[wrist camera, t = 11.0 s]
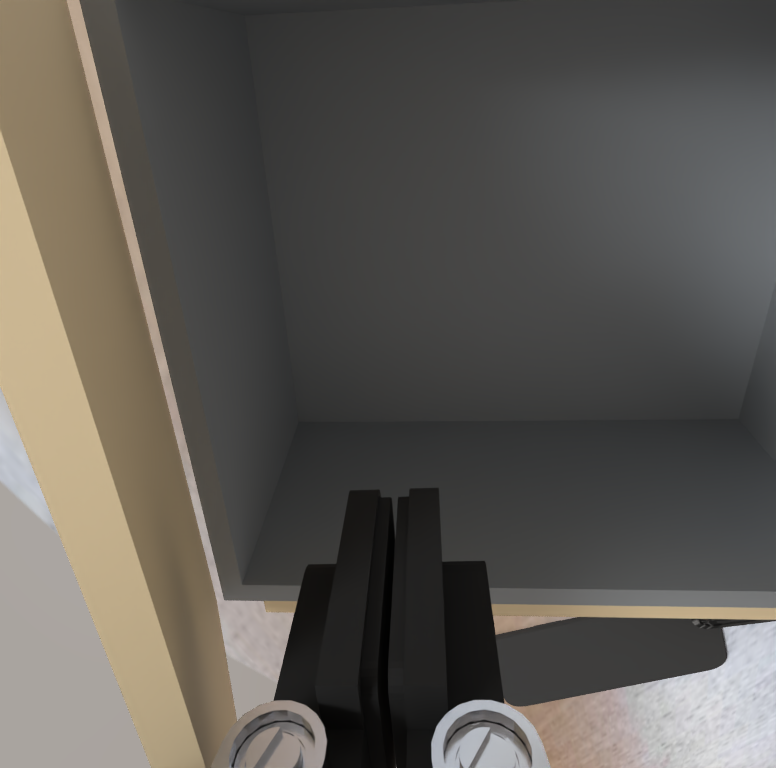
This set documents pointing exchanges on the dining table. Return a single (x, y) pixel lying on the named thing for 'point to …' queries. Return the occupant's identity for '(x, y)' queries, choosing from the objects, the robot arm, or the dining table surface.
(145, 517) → the carton flap
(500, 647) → the phone
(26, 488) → the dining table surface
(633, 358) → the carton
